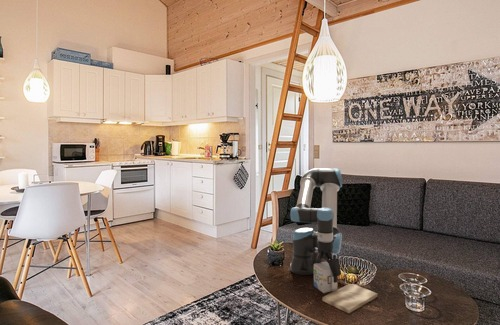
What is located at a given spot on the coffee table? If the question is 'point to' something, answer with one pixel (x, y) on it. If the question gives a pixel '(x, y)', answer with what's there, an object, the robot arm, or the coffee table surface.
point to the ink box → (323, 277)
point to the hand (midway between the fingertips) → (325, 284)
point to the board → (349, 297)
